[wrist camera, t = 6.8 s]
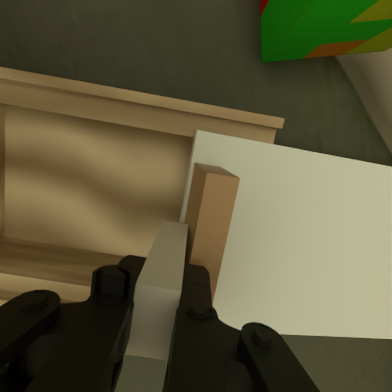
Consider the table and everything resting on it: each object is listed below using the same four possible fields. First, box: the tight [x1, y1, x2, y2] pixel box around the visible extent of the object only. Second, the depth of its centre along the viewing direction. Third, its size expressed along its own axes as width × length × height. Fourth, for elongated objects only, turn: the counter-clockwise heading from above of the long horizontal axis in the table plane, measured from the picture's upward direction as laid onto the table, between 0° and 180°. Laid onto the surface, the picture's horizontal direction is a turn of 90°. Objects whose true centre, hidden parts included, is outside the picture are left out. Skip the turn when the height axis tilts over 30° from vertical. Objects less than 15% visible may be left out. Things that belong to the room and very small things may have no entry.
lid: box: [179, 130, 392, 339], centre depth 17 cm, size 14×19×5 cm
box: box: [0, 67, 284, 306], centre depth 20 cm, size 16×22×7 cm
